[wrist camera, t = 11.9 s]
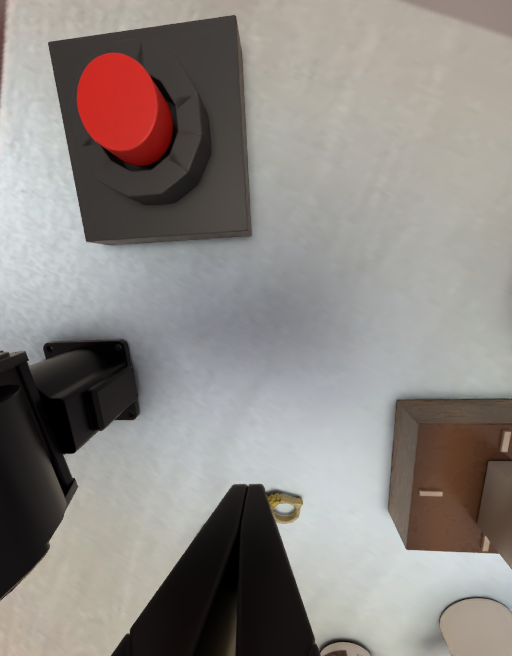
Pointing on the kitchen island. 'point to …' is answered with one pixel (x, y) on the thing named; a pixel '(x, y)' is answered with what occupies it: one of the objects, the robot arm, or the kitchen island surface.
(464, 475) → the dial panel
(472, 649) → the mug
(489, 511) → the dial knob
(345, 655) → the supplement bottle
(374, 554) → the kitchen island surface
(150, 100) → the button
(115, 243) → the switch block
